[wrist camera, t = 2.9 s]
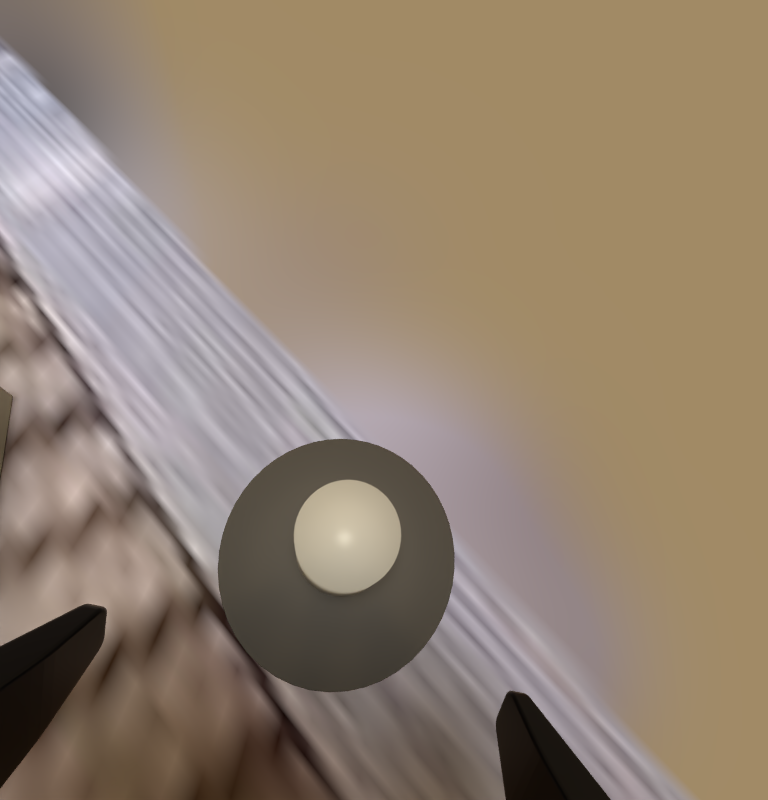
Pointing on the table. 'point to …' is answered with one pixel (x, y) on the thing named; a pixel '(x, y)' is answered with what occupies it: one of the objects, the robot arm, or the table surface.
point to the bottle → (336, 565)
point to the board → (4, 420)
